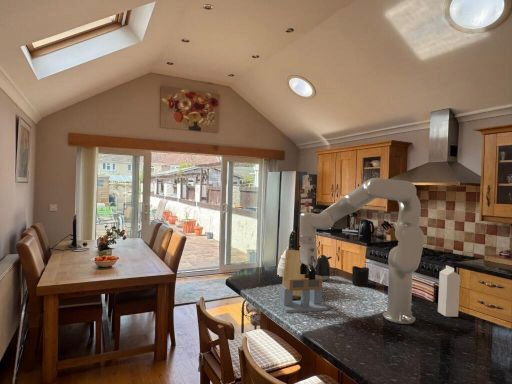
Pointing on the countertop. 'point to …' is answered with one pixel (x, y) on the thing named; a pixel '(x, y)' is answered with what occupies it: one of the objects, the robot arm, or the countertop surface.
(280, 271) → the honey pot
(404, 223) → the robot arm
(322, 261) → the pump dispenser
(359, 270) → the pen holder
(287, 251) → the knife block
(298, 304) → the gray blocky stand
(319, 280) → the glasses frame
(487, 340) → the countertop surface
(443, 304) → the milk
